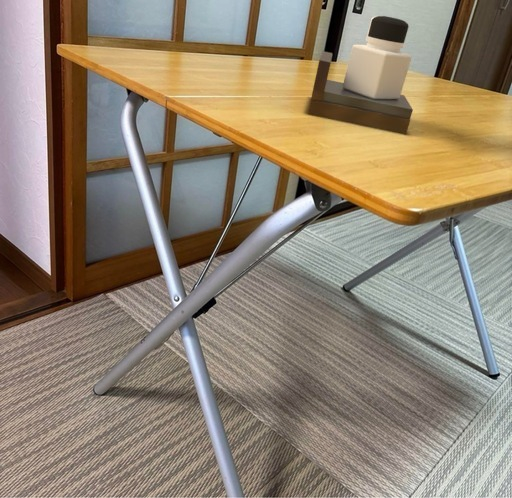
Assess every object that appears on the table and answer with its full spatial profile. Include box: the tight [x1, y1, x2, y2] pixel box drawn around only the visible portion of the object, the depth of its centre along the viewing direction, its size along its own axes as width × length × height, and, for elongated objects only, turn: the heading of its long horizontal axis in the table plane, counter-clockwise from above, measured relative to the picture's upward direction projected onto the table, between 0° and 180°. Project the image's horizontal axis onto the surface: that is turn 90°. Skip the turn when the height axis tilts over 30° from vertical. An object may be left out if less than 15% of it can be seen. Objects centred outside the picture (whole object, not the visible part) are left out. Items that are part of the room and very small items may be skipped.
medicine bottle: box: [342, 15, 412, 99], centre depth 84 cm, size 7×7×12 cm
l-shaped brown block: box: [307, 51, 414, 135], centre depth 87 cm, size 16×14×8 cm
